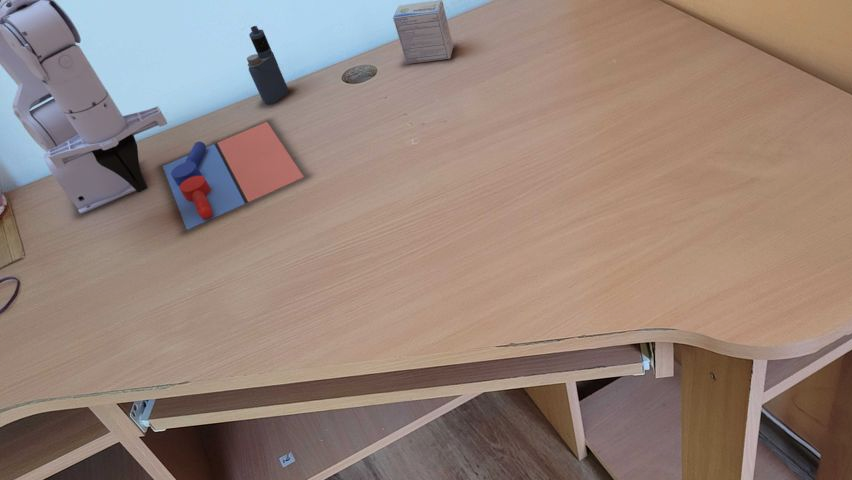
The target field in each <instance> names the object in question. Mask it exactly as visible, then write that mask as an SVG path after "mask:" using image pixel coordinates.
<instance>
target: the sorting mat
mask: <svg viewBox="0 0 852 480" xmlns="http://www.w3.org/2000/svg"><path fill="white" fill-rule="evenodd" d="M188 156H189V154H188V155H185V156H183V157H181V158H178V159H176V160H173V161H171V162H169V163H167V164H164V165H162V168H163V171H164V174H165V176H166V178H167V181H168V184H169V187H170V189H171V192H172V194H173V197H174V200H175V203H176V205H177V208H178V210H179V213H180V215H181V218H182V221H183V224H184V226H185V230H187V231H189V230H190V229H192V228H195V227H197V226H200V225H201V224H204V223H205V222H208V221H210V220H213V219H215V218H217V217H220V216H221V215H225V214H226V213H228V212H230V211H232V210H234V209H237V208H239V207H241V206H243V205H246V204H248V203H250V202H253V201H255V200H257V199H259V198H261V197H263V196H265V195H268V194H270V193H272V192H274V191H277V190H279V189H281V188H283V187H286V186H287V185H290V184H292V183H294V182H296V181H299V180H301V179H303V178H305V177H304V174H302V171H301V170H300V169H299V167H298V166H297V164H296V163H295V161H294V159H293V158H292V157H291V155H290V154H289V152H288V151H287V149H286V148H285V146H284V144H283V143H282V142H281V140H280V138H279V137H278V136H277V134H276V133H275V131H274V129H273V128H272V127H271V125H270V124H269V122H268V121H265V122H262V123H260V124H258V125H256V126H253V127H251V128H249V129H247V130H244V131H242V132H239V133H237V134H235V135H232V136H230V137H228V138H225V139H223V140H220V141H218V142H216V143H213V144H211V145H209V146H206V150H205V152H204V154H203V156H202V158H201V160H200V162H199V164H198V166H197V167H198V169H199V171H200V173H201V176H203V177H204V178H205V179H206V181H207V183H208V185H209V186H210V192H209V193H208V194H207V195H206V198H207V200H208V203H209V205H210V207H211V209H212V215H211V217H210V218H207V219H204V218H201V217H200V216H199V214H198V211H197V209H196V207H195V204H194V202H193V201H188V200H186V199H185V197H184V196H183V194H182V192H181V191H180V186H178V185H177V184H176V182H175V180H174V179H173V177H172V175H171V172H172V170H173V169H174V168H175V167H177V166H178V165H180V164H183V163H185V161H186V159H187V157H188Z"/></svg>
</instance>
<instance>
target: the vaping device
mask: <svg viewBox="0 0 852 480" xmlns="http://www.w3.org/2000/svg"><path fill="white" fill-rule="evenodd" d="M250 31H251V32H250V33H249V35H248V36H249V38H250V41H251V42H252V45H253V47H254V49H255V52H256V53H255V54H251V55H249V56H247V57H246V61H247V67H248V69H247V70H248V72H249V74H250V76H251V78H252V81H253V83H254V85H255V87H256V90H257V91H258V95H259V96H260V98H261V100H262V102H263V103H264V104H266V105H273V104H276V103H278V101H279V100H281V99H282V98H283V97H285V96H286V95H288V93H289V92H290V90H289V88H288V84H287V83H286V80H285V78H284V76H283V73H282V71H281V69H280V67H279V63H278V61H277V59H276V56H275V54H274V52H273V51H272V48H271V46H270V43H269V41H268V39H267V36H266V34H265V31H264V29H259V28H258V25H252V26H251V27H250Z"/></svg>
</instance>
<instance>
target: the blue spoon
mask: <svg viewBox="0 0 852 480" xmlns="http://www.w3.org/2000/svg"><path fill="white" fill-rule="evenodd" d="M206 147H207V145H206V144H205V143H204V142H203V141H200V140H199V141H196V142H194V144H193V146H192V148H191V150H190V151H189V153H188V155H189V156H188V155H187V156H188V157H187V159H186V161H185V163H183V164H180V165H178V166H177V167H175V168H174V169H173V170H172V172H171V175H172V177H173V179H174V180H175V182H176V184H177V185H178V186H180V185H181V183H182V182H183V181H185V180H186V179H188V178H190V177H193V176H201V173H200V171H199V169H198V167H197V166H198V164H199V162H200V160H201V158H202V156H203V154H204V152H205V150H206Z"/></svg>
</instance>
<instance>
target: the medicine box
mask: <svg viewBox="0 0 852 480" xmlns="http://www.w3.org/2000/svg"><path fill="white" fill-rule="evenodd" d="M392 19H393V23H394V27H395V30H396V33H397V36H398V40H399V43H400V46H401V50H402V53H403V57H404V62H405V63H406V65H410V64H417V63H425V62H433V61H442V60H450V59H451V57H452V54H453V49H454V42H453V38H452V35H451V31H450V27H449V22H448V18H447V15H446V10H445V5H444V2H443V0H430V1H423V2H422V1H421V2H416V3H414V2H413V3H409V4H400V5H398V6H397V8H396V10H395V12H394V14H393V16H392Z"/></svg>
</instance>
